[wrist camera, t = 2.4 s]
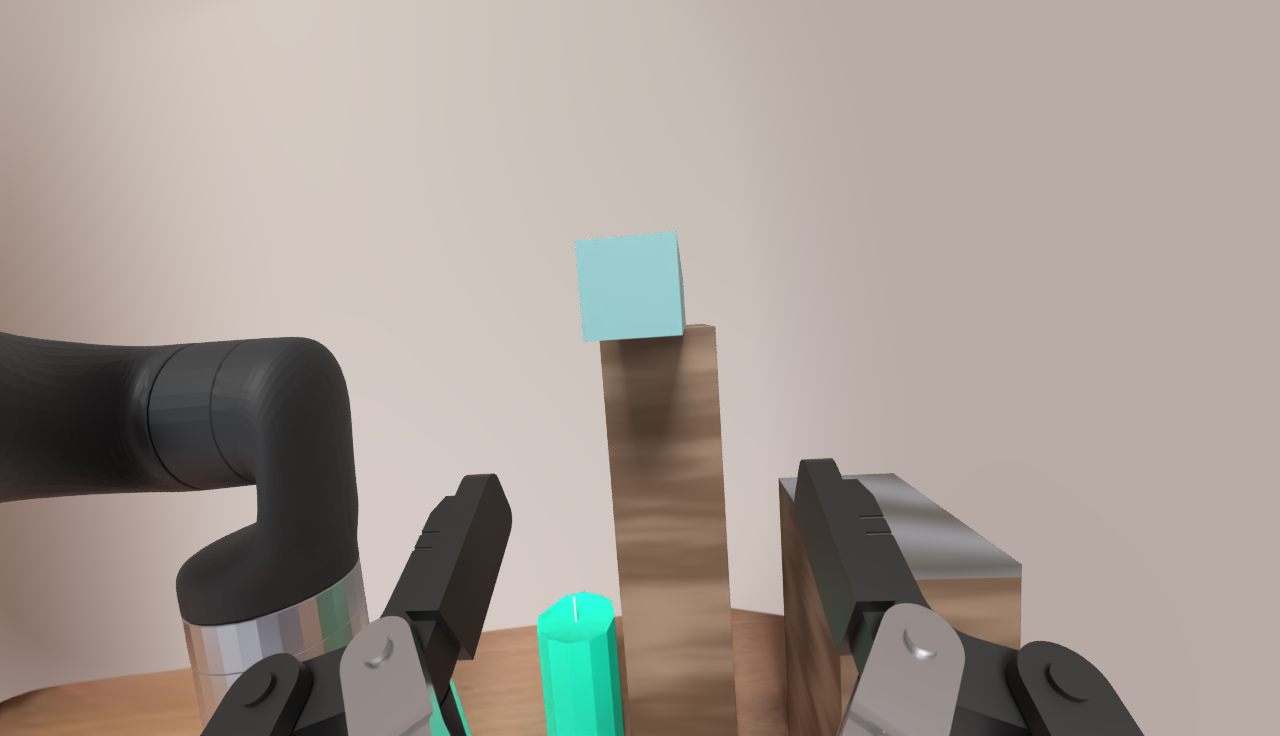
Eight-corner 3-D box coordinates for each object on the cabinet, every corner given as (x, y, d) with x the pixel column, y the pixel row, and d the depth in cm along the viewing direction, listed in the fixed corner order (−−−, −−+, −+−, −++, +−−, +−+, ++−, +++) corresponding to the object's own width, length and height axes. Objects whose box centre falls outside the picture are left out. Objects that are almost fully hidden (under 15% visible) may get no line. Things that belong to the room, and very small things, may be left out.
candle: (607, 696, 40) (597, 567, 39) (637, 752, 35) (625, 604, 33) (540, 726, 37) (526, 589, 36) (561, 792, 32) (545, 634, 31)
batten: (682, 335, 18) (676, 231, 17) (583, 341, 18) (574, 240, 18) (685, 325, 40) (682, 278, 39) (640, 328, 40) (637, 282, 40)
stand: (741, 805, 30) (715, 326, 27) (637, 803, 31) (599, 334, 28) (722, 667, 42) (702, 323, 39) (647, 668, 43) (621, 329, 39)
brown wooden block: (1014, 957, 22) (1021, 564, 20) (848, 950, 23) (838, 569, 21) (896, 735, 34) (893, 473, 32) (789, 735, 35) (778, 478, 33)
